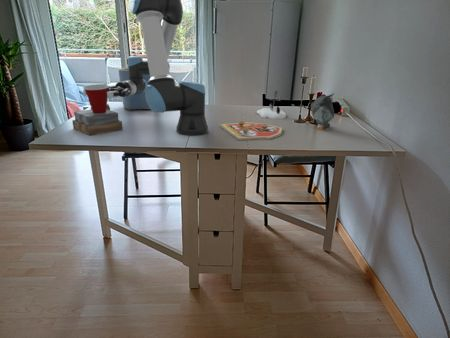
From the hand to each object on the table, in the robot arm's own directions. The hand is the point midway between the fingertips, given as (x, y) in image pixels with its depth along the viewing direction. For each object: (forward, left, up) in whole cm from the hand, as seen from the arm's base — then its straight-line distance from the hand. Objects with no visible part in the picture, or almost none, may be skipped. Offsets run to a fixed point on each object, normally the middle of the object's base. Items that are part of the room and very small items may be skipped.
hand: (95, 93), depth 139 cm
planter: (+31, -44, -16) cm, 57 cm away
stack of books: (-1, +1, -16) cm, 16 cm away
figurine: (-37, -93, -17) cm, 101 cm away
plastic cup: (-2, 0, -8) cm, 9 cm away
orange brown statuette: (+22, -14, -16) cm, 31 cm away
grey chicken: (-72, -86, -16) cm, 113 cm away
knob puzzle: (-53, -54, -17) cm, 77 cm away
